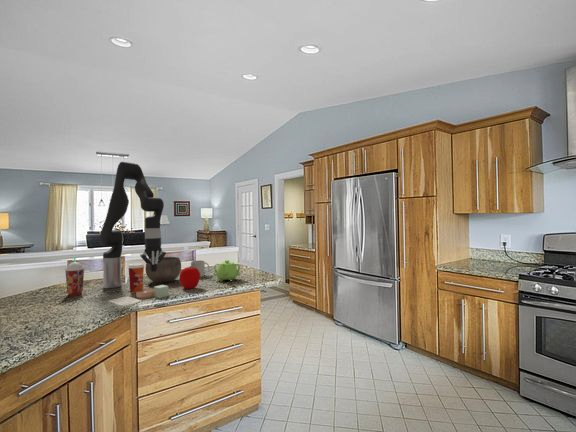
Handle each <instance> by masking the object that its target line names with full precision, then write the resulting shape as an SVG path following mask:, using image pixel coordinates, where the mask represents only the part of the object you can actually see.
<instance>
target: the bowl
mask: <svg viewBox="0 0 576 432" xmlns="http://www.w3.org/2000/svg"><path fill="white" fill-rule="evenodd" d="M181 261H182V260H181V259H180V257H179V256H178V257H177V256H164V257H163V259H162V260H161V262H159V263H157V270H156V272H151V270H150V264H147V263H146V262H145V274H146V277H148V279H149V280H150V281H152V282H154V283H167V282H168V283H169V282H172V281H174V280H176V279H178V277H180V273H181V271H182V262H181Z"/></svg>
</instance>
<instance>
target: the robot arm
mask: <svg viewBox="0 0 576 432" xmlns="http://www.w3.org/2000/svg"><path fill="white" fill-rule="evenodd" d="M125 180H133V181H135V182H136V183H135V185H134V191H135V194H136V196H137V197H138V198H139V202H140V208H141V210H143V212H144V211H145V212H147V213H148V212H149V213H151V212H153V214H152V215H149V216H146V217H145V218H144V219H145V220H144V226H145V227H144V252H143V253H141V254H139V256H140V257H141V259H142V260H143V261H144V262H145V264H146V263H147V264H150V270H151V272H156V270H157V263H159V262H161V260H162V259H163V257H166V254H167V252H166V251H163V250H162V231H161V230H162V229H161V219H162V215H163V211H164V206H165V205H164V200H163V199H162V198H161V197H154V192H153V191H152V189H151V188H150V186H149V184H148V183H147V181H146V177H145V175H144V172H143V170H142V168H141V165H139V164H138V163H135V162H127V161H120V162H119V163H118V165H117V168H116V174H115V180H114V185H113V191H112V194H111V197H110V200H109V204H108V208H107V213H106V217H105V218H104V219H105V220H104V222H103V225H102V227H101V230H100V233H99V241H98V242H99V244H100V246H102V247H111V248H109V250H106V251H105V252H103V254H102V265H103V266H102V271H103V273H102V276H103V279H102V281H103V283H102V284H103V288H104V289H114V288H119V287H121V286H122V253H123V252H122V251H123V233H122V231H121V230H120V229H114V227H115V225H116V224H117V223H118V222H119V221H120V220H121V219H122V218H123V217H124V216H125V214H126V213H127V210H128V208H129V203H130V201H129V198H128V194H127V192H126V189H125V186H124V185H125V184H124V183H125Z"/></svg>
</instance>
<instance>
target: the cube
mask: <svg viewBox="0 0 576 432" xmlns="http://www.w3.org/2000/svg"><path fill="white" fill-rule="evenodd" d="M153 289H154V297H153V298H158V299H161V298H165V297H169V286H168V285H164V284H160V285H156V286H153Z"/></svg>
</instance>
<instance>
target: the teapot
mask: <svg viewBox="0 0 576 432" xmlns="http://www.w3.org/2000/svg"><path fill="white" fill-rule="evenodd" d="M237 267H238V268H237ZM213 268H214V269H213V270H214V271H213V276H215V277H216V278H217V279H218V280H219V282H220V281H222V282H224V281H223V280H226V281H227V280H228V281H229V280H235V279H236V278H237V276H238V277H239V276H241V274H242V273H241V272H240V269H241V265H240V264H238V263H235V262H232V261H230V260H228V259H227V260H224V262H220V263H216V264H214V267H213ZM234 278H235V279H234Z"/></svg>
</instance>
